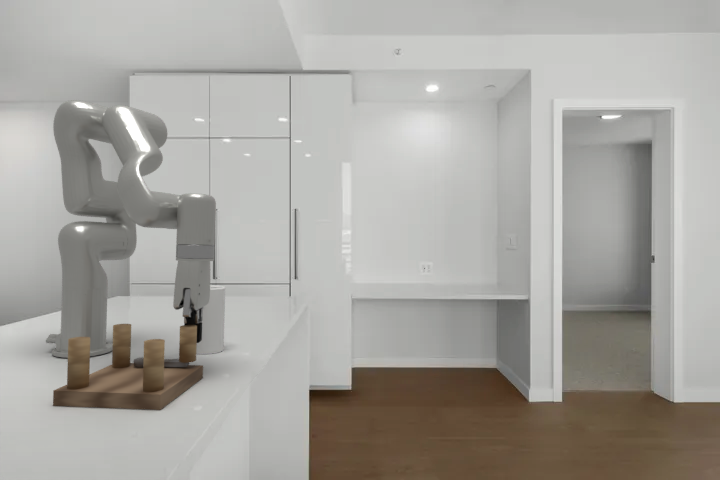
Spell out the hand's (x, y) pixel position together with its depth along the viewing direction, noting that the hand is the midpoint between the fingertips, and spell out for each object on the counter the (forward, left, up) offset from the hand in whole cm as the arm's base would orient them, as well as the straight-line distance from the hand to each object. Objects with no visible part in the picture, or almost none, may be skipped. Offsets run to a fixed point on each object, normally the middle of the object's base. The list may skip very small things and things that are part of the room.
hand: (192, 341), depth 96 cm
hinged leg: (-4, -5, -4) cm, 7 cm away
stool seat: (-6, -12, -7) cm, 14 cm away
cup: (-5, +20, -7) cm, 22 cm away
